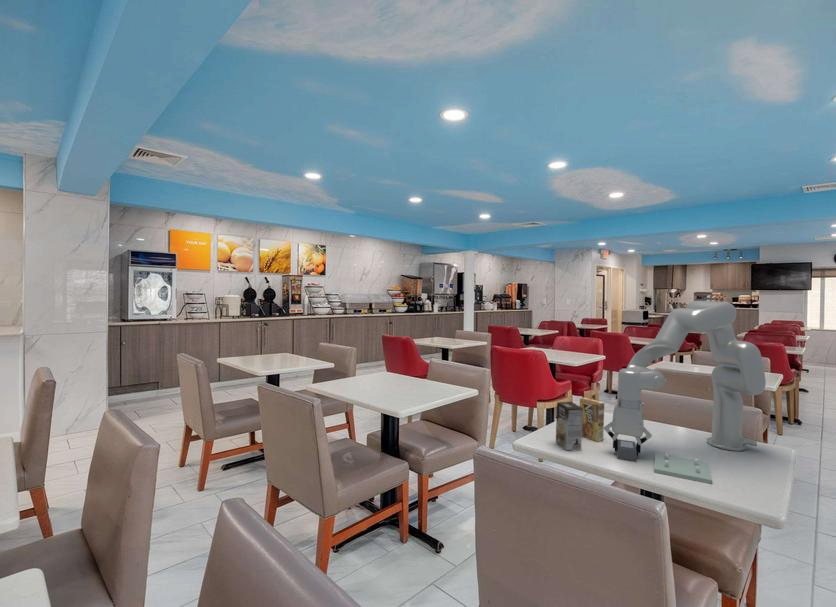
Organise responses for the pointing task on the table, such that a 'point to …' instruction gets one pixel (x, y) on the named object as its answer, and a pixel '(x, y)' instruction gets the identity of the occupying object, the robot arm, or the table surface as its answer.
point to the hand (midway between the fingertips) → (626, 452)
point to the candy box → (592, 419)
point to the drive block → (626, 450)
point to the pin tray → (682, 468)
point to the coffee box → (569, 425)
